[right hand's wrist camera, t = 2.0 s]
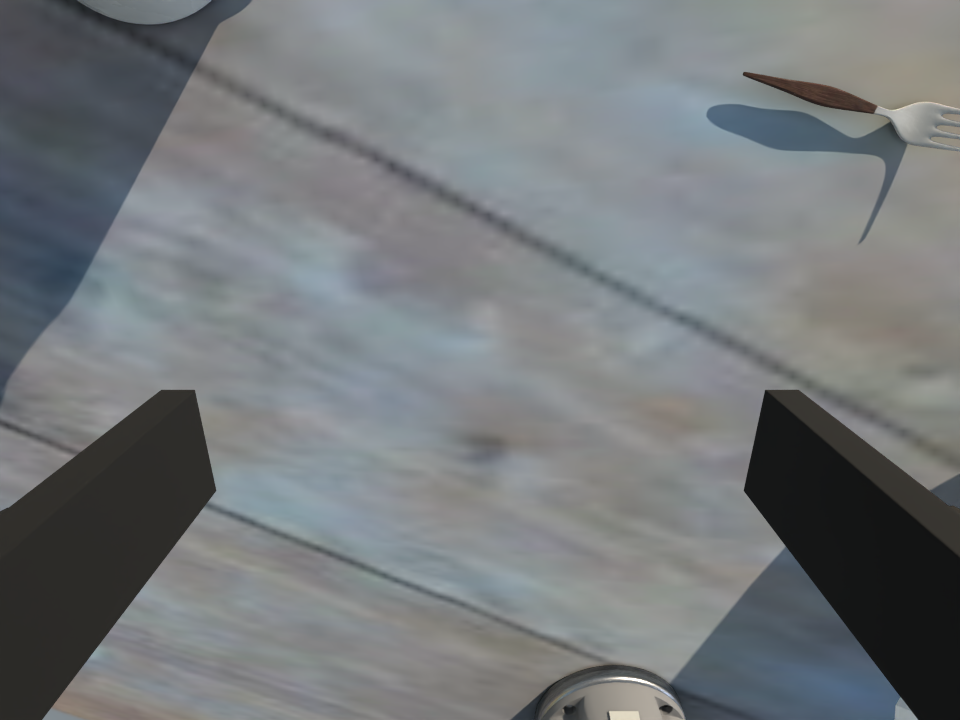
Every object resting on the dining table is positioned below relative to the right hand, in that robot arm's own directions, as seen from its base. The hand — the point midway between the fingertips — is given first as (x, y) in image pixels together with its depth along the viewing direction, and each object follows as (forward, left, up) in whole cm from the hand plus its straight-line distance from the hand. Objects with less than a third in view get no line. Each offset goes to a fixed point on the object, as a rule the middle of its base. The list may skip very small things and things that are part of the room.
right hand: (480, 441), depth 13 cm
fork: (+9, -24, -28) cm, 38 cm away
